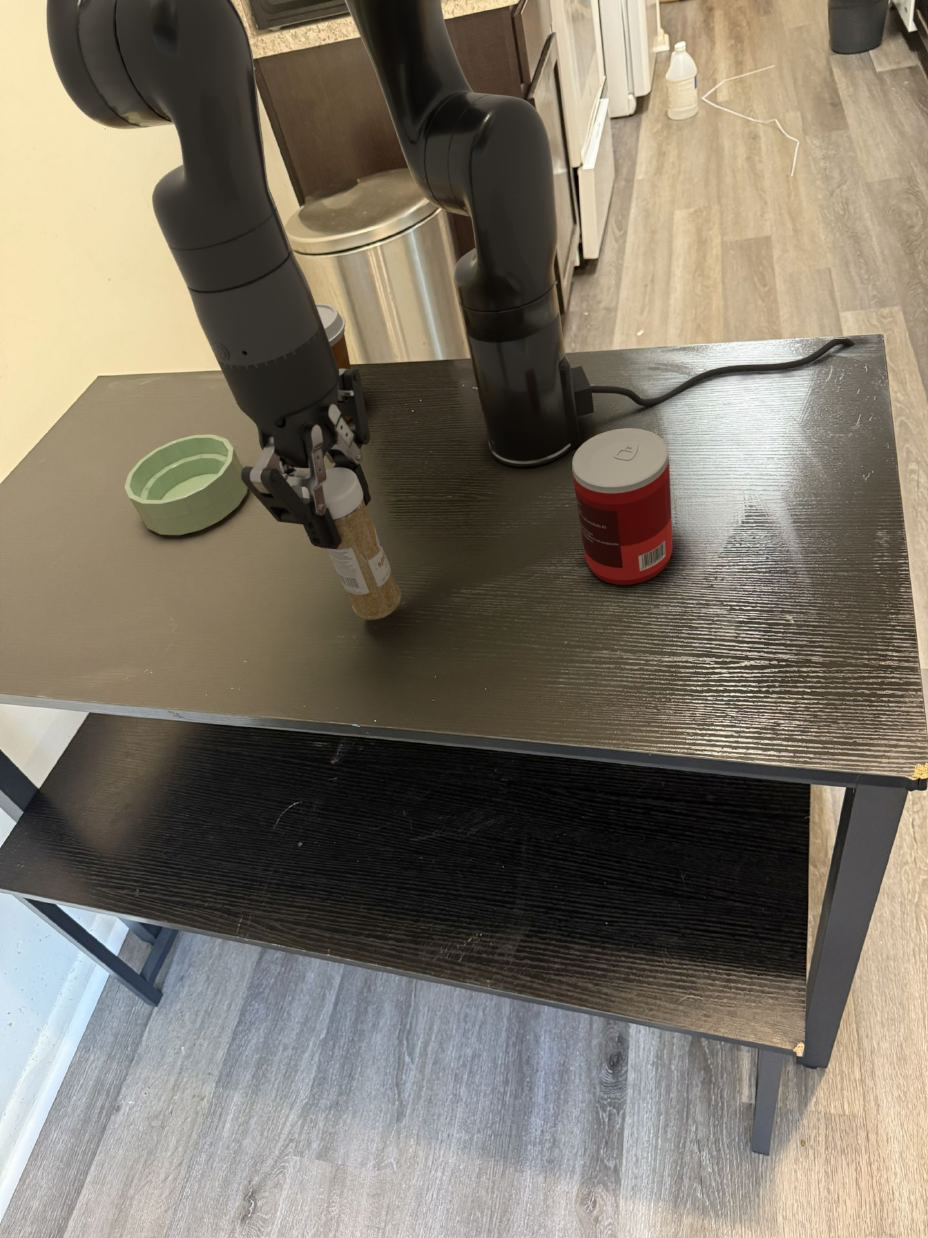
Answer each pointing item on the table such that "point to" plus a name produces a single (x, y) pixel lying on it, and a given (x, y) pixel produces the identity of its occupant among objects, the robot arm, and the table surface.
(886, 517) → the table surface
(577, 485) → the canned food
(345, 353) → the disposable coffee cup
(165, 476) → the bowl
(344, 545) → the sprinkles bottle
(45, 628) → the table surface
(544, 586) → the table surface
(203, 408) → the table surface
